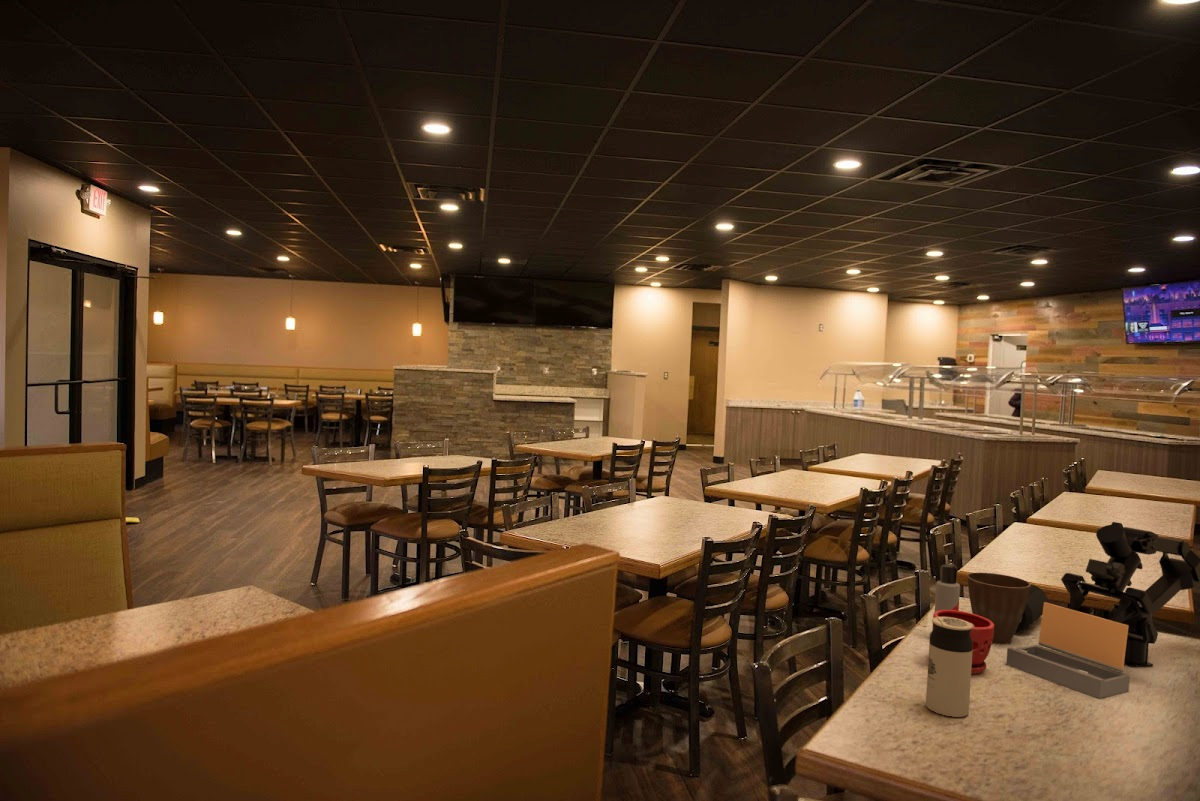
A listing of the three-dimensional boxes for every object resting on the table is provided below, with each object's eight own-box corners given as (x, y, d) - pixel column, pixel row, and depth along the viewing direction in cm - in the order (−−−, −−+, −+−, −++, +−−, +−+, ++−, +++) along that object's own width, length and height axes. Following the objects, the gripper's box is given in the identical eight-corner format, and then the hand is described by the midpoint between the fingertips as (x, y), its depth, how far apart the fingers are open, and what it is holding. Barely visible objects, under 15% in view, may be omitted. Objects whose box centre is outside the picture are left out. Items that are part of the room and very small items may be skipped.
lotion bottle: (959, 645, 200) (963, 568, 199) (935, 642, 201) (940, 565, 201) (953, 638, 206) (958, 563, 205) (930, 636, 207) (935, 561, 206)
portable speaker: (1012, 612, 235) (1014, 579, 234) (1049, 619, 228) (1051, 586, 228) (989, 629, 215) (991, 594, 215) (1029, 638, 209) (1031, 601, 209)
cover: (1038, 645, 191) (1040, 645, 191) (1120, 672, 174) (1123, 672, 174) (1043, 602, 191) (1046, 602, 191) (1126, 625, 174) (1128, 625, 175)
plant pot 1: (930, 671, 180) (933, 620, 179) (929, 654, 192) (932, 606, 192) (993, 682, 175) (997, 629, 175) (988, 664, 187) (991, 614, 187)
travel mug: (966, 706, 160) (971, 619, 160) (970, 721, 153) (976, 630, 152) (924, 699, 163) (929, 613, 163) (927, 713, 155) (932, 624, 155)
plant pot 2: (1038, 650, 199) (1042, 588, 199) (979, 647, 199) (983, 585, 199) (1008, 631, 214) (1012, 574, 213) (954, 629, 214) (957, 571, 214)
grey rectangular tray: (1034, 658, 192) (1036, 640, 192) (1128, 691, 173) (1129, 670, 173) (1006, 664, 187) (1007, 645, 187) (1099, 698, 168) (1101, 677, 168)
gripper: (1068, 540, 194) (1038, 587, 189) (1150, 556, 178) (1119, 609, 173) (1084, 569, 198) (1055, 616, 193) (1166, 588, 182) (1136, 640, 177)
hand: (1089, 619), depth 184 cm, fingers open, 9 cm apart
